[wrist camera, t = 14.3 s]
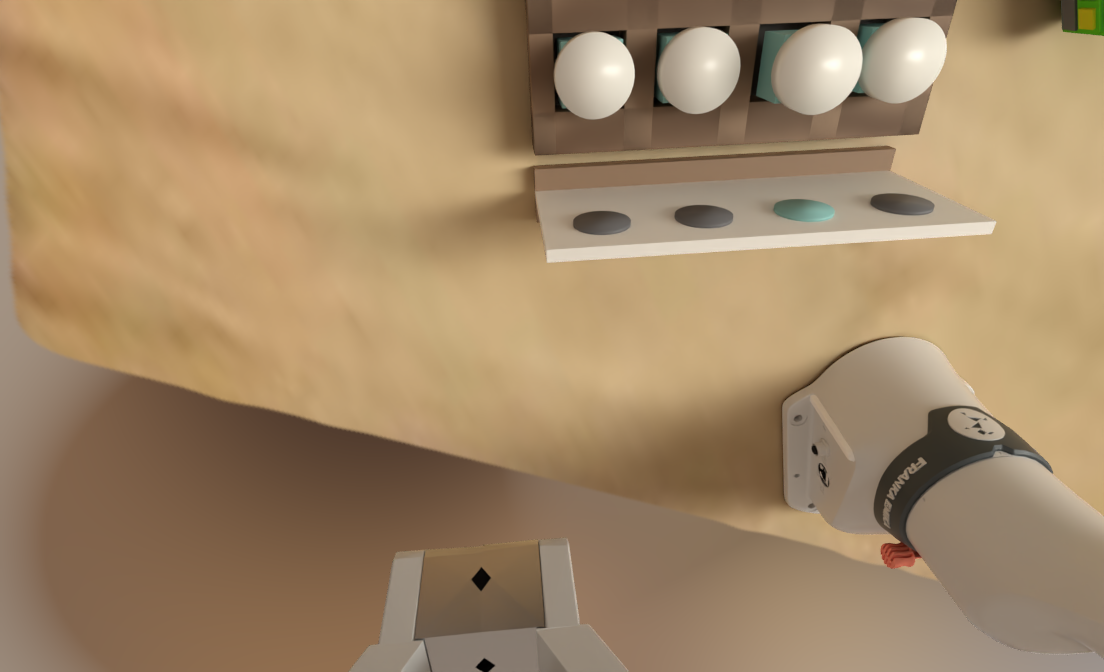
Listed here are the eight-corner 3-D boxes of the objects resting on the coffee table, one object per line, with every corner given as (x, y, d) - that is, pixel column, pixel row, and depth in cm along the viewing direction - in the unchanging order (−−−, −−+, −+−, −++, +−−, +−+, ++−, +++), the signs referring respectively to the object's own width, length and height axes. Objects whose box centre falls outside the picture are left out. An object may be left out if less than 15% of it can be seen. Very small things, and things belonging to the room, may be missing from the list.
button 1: (892, 90, 41) (932, 101, 37) (827, 94, 41) (860, 105, 37) (912, 13, 38) (957, 16, 35) (842, 16, 38) (880, 19, 34)
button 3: (712, 100, 40) (734, 112, 36) (644, 103, 40) (659, 116, 36) (720, 21, 38) (745, 25, 34) (648, 25, 37) (665, 29, 34)
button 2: (817, 100, 39) (851, 112, 35) (747, 104, 39) (774, 116, 35) (833, 19, 36) (871, 23, 33) (758, 22, 36) (788, 26, 32)
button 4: (620, 104, 40) (633, 117, 36) (551, 108, 40) (556, 121, 36) (622, 26, 37) (636, 30, 34) (548, 29, 37) (554, 34, 33)
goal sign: (874, 197, 46) (982, 258, 36) (536, 217, 45) (548, 287, 34) (888, 145, 44) (1006, 195, 34) (533, 165, 43) (545, 223, 32)
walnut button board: (893, 125, 43) (918, 134, 41) (532, 145, 42) (535, 155, 39) (935, -34, 38) (966, -35, 35) (524, -17, 37) (526, -18, 34)
